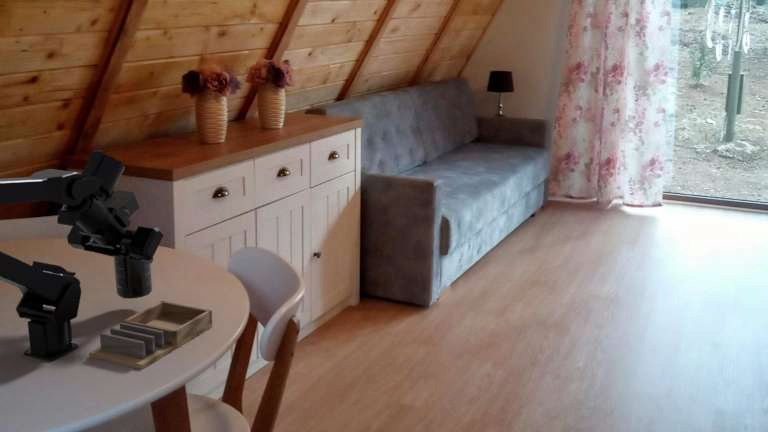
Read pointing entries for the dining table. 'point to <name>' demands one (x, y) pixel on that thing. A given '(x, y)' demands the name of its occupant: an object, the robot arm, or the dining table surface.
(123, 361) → the wooden desk organizer
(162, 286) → the dining table surface
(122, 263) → the supplement bottle
